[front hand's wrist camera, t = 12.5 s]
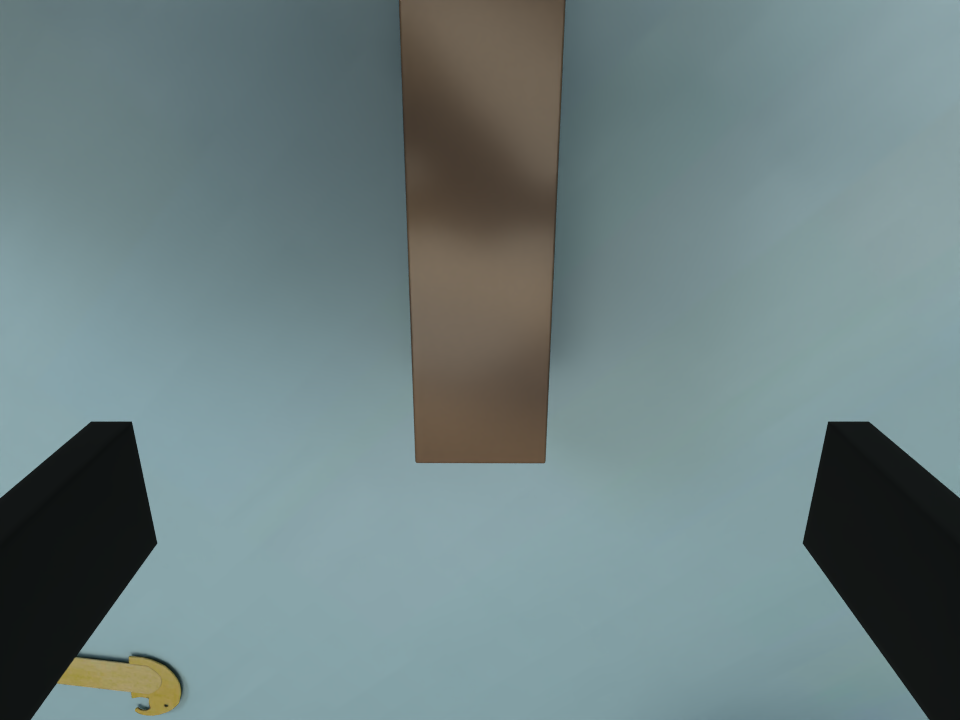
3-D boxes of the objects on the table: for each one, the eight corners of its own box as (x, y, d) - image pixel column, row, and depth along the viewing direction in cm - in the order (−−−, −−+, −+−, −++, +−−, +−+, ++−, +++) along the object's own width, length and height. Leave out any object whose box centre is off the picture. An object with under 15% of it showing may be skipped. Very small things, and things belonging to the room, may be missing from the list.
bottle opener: (-153, 679, 41) (181, 718, 42) (-155, 681, 41) (180, 719, 42) (-168, 620, 39) (181, 661, 40) (-170, 622, 39) (180, 663, 40)
